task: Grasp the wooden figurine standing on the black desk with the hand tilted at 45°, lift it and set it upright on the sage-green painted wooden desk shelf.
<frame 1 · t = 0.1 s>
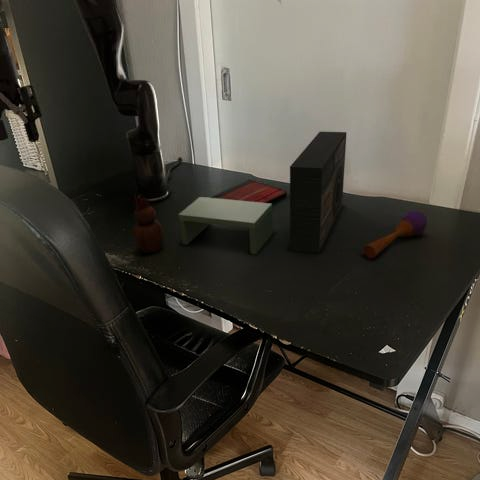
hand: (18, 140, 101), 29 cm above the table, tool pointing down, fingers open, 8 cm apart
desk shelf: (228, 238, 123), on the table
orange and purple maraca: (394, 244, 115), on the table
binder: (246, 201, 143), on the table
cassette player: (318, 227, 126), on the table
wooden figurine: (151, 250, 121), on the table
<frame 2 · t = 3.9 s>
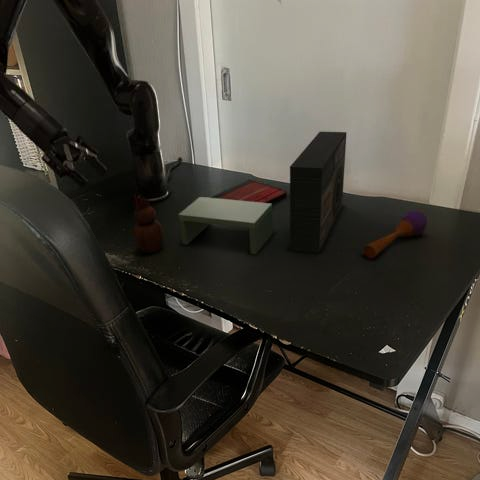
hand: (95, 178, 114), 18 cm above the table, tool tilted 45°, fingers open, 8 cm apart
nothing on the table moved.
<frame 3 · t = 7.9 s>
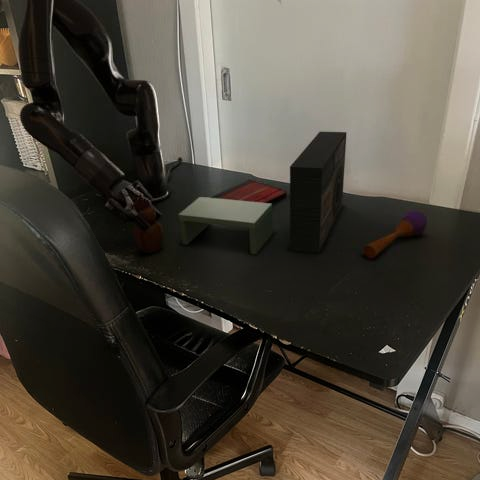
hand: (153, 223, 116), 7 cm above the table, tool tilted 45°, fingers closed on wooden figurine, 5 cm apart
wooden figurine: (151, 250, 121), on the table, touching gripper
everything else where it was.
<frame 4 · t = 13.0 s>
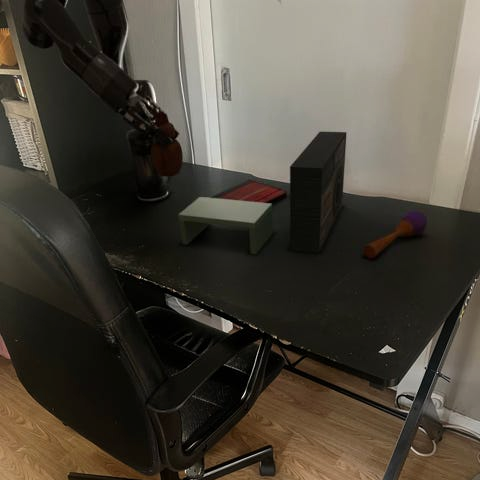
hand: (173, 140, 105), 26 cm above the table, tool tilted 45°, fingers closed on wooden figurine, 5 cm apart
wooden figurine: (170, 175, 110), point 18 cm above the table, touching gripper
everything else where it was.
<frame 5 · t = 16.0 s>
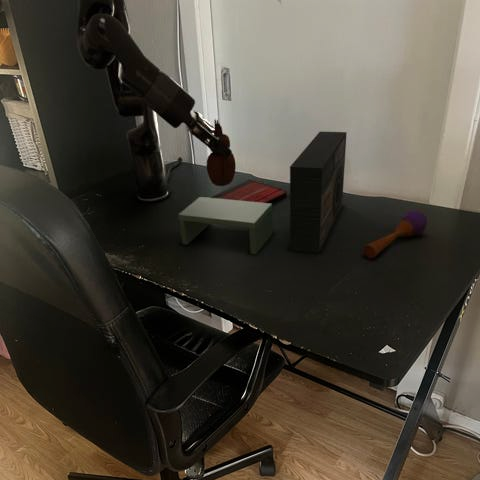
hand: (227, 151, 111), 22 cm above the table, tool tilted 45°, fingers closed on wooden figurine, 5 cm apart
wooden figurine: (222, 184, 115), point 14 cm above the table, touching gripper
everything else where it was.
when the fingers open (15 cm above the table, at t = 18.2 s): wooden figurine stays where it is, resting on desk shelf.
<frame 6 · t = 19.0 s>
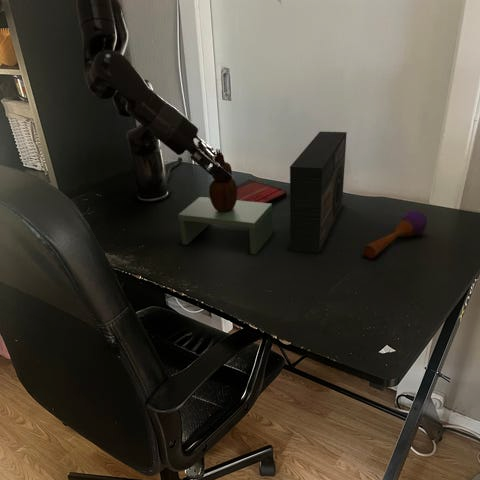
hand: (227, 174, 114), 16 cm above the table, tool tilted 45°, fingers open, 8 cm apart
wooden figurine: (224, 209, 118), point 8 cm above the table, touching desk shelf
everything else where it was.
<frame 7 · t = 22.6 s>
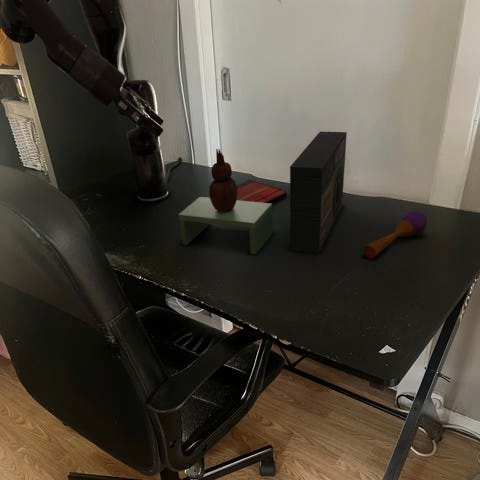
hand: (161, 128, 107), 28 cm above the table, tool tilted 45°, fingers open, 8 cm apart
nothing on the table moved.
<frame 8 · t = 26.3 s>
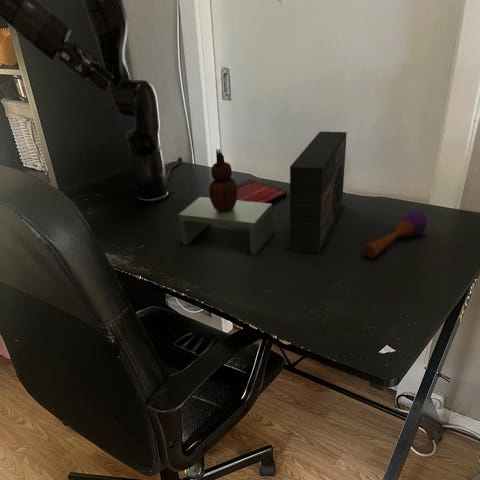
hand: (109, 84, 107), 37 cm above the table, tool tilted 45°, fingers open, 8 cm apart
nothing on the table moved.
at the end: wooden figurine inside the target area on the desk shelf (0.1 cm from its centre), point 7.8 cm above the desk shelf's base; wooden figurine tilted 0°; the gripper is holding nothing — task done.
